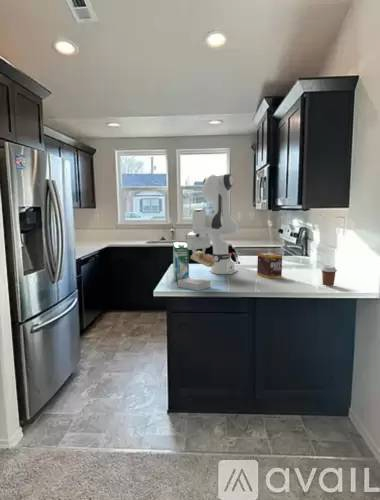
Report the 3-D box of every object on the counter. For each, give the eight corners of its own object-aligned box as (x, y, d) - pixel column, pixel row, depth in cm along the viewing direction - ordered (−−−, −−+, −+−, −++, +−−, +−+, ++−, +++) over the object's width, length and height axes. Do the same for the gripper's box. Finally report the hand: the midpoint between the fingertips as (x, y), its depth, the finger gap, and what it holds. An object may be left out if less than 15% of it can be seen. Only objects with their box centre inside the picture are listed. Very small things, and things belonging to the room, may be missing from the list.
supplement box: (269, 278, 240) (269, 256, 237) (256, 274, 254) (257, 253, 252) (282, 277, 243) (282, 255, 241) (269, 273, 258) (269, 252, 255)
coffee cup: (338, 285, 219) (339, 266, 217) (331, 288, 213) (332, 268, 211) (324, 283, 226) (325, 264, 224) (317, 285, 219) (318, 266, 218)
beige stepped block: (196, 257, 231) (198, 250, 230) (214, 265, 223) (216, 258, 221) (190, 258, 226) (192, 251, 225) (208, 267, 218) (210, 259, 216)
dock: (190, 283, 228) (190, 276, 227) (210, 286, 218) (210, 280, 217) (177, 286, 218) (177, 280, 217) (198, 290, 208) (198, 284, 207)
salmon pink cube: (207, 259, 225) (208, 253, 224) (211, 262, 223) (213, 256, 221) (203, 260, 222) (204, 254, 221) (208, 262, 220) (209, 256, 218)
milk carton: (175, 281, 232) (175, 243, 228) (173, 278, 241) (173, 242, 237) (188, 280, 234) (188, 243, 230) (186, 278, 242) (186, 242, 239)
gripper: (204, 233, 234) (204, 253, 236) (185, 234, 218) (185, 256, 220) (212, 233, 230) (212, 254, 232) (193, 235, 214) (193, 257, 216)
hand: (199, 255), depth 226 cm, fingers closed on beige stepped block, 6 cm apart
